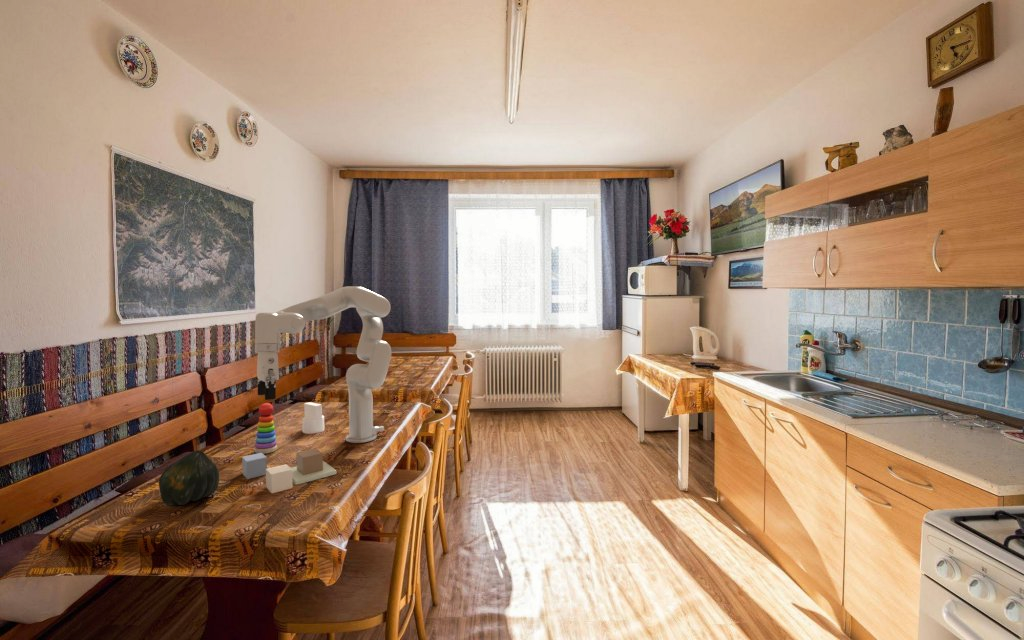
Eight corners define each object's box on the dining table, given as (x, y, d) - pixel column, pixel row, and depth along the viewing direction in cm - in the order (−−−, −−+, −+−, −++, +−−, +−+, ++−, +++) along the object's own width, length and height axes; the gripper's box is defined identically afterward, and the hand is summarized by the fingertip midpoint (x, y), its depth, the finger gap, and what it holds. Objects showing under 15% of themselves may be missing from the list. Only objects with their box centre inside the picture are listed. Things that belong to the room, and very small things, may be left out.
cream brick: (286, 482, 147) (286, 464, 147) (292, 488, 143) (292, 469, 143) (266, 487, 143) (265, 468, 143) (271, 493, 139) (271, 474, 139)
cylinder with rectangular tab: (328, 429, 204) (328, 403, 203) (310, 434, 196) (309, 407, 196) (316, 426, 209) (315, 400, 208) (298, 431, 201) (297, 404, 200)
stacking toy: (267, 455, 171) (266, 406, 170) (249, 453, 173) (247, 405, 172) (282, 448, 179) (281, 401, 178) (264, 446, 181) (263, 400, 180)
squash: (135, 491, 127) (170, 452, 127) (174, 473, 142) (206, 437, 142) (173, 525, 127) (209, 485, 127) (209, 503, 142) (240, 467, 142)
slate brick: (262, 469, 158) (261, 452, 158) (267, 474, 154) (266, 457, 153) (242, 474, 154) (242, 456, 154) (246, 479, 149) (246, 461, 149)
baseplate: (322, 463, 163) (322, 443, 163) (336, 474, 154) (336, 453, 154) (283, 472, 155) (283, 452, 154) (296, 484, 145) (295, 462, 145)
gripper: (286, 349, 154) (285, 400, 154) (272, 345, 167) (271, 392, 167) (261, 350, 149) (260, 402, 149) (249, 346, 162) (248, 394, 162)
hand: (266, 397), depth 158 cm, fingers open, 9 cm apart
